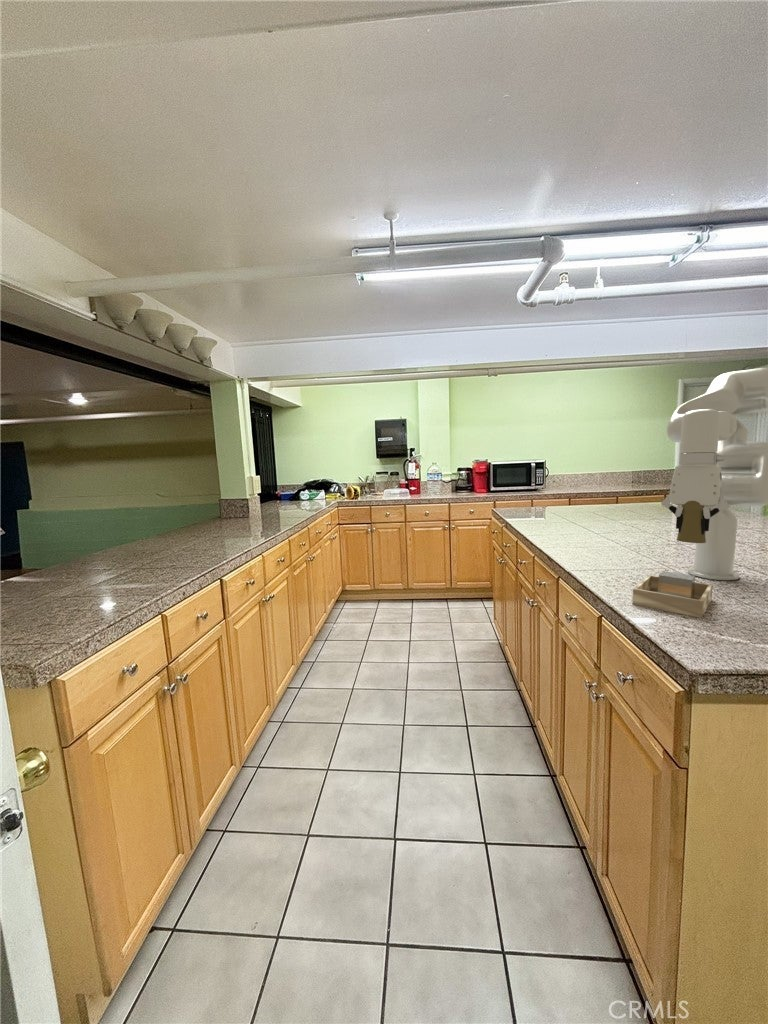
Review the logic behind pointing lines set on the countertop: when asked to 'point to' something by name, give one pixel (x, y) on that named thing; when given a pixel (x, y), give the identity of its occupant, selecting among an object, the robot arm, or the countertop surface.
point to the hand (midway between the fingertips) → (691, 532)
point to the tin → (676, 584)
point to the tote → (672, 598)
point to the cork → (692, 523)
